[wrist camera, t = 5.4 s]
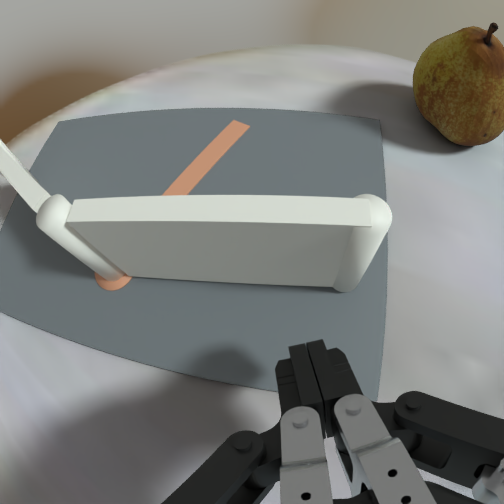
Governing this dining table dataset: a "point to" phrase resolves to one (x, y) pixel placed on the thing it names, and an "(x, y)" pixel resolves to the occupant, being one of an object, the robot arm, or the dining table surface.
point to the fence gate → (237, 237)
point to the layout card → (188, 291)
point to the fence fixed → (54, 216)
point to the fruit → (463, 85)
